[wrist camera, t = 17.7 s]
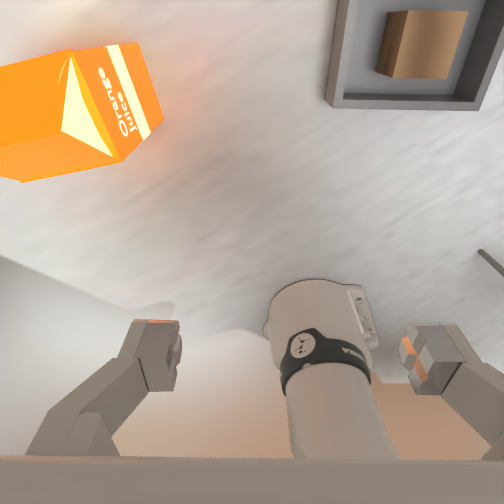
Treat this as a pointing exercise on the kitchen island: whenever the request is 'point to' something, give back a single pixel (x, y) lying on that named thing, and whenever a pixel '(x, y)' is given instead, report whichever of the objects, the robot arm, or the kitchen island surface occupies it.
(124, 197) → the kitchen island surface
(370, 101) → the bin
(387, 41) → the walnut block
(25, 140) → the orange juice
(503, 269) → the grey tripod stand
